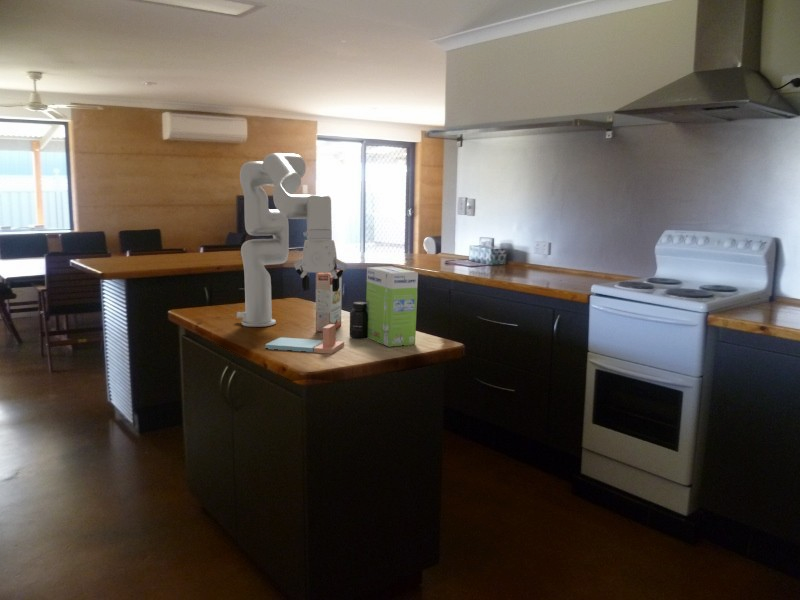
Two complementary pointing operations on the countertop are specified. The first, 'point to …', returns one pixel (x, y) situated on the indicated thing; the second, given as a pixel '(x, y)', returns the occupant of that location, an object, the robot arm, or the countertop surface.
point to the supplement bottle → (359, 321)
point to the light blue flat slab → (294, 344)
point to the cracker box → (327, 301)
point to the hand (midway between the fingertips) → (320, 290)
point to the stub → (329, 341)
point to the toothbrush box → (391, 305)
